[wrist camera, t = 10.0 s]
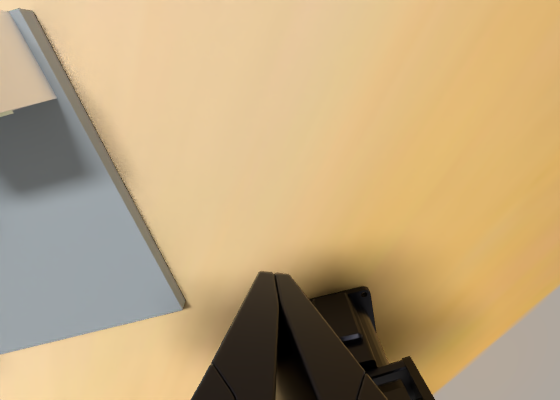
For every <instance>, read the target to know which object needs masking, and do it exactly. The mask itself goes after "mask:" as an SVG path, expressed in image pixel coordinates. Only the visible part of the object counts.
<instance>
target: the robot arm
mask: <svg viewBox="0 0 560 400" xmlns="http://www.w3.org/2000/svg"><path fill="white" fill-rule="evenodd" d="M364 292H365V293H364ZM362 293H363V294H362ZM191 400H435V399H434V397H433V395H432V394H431V392H430V390H429V388H428V387H427V385H426V383H425V382H424V380H423V378H422V376H421V375H420V373H419V371H418V369H417V368H416V366H415V364H414V362H413V361H412V359H411V357H410V356H408V357H405V358H402V360H400V361H397V362H394V363H391V364H389V362H388V360H387V358H386V355H385V353H384V351H383V348H382V346H381V344H380V341H379V339H378V337H377V334H376V328H375V321H374V314H373V308H372V301H371V294H370V291H369V289H368V288H367V287H359V288H355V289H350V290H346V291H342V292H338V293H334V294H330V295H325V296H321V297H317V298H313V299H308V298H307V296H306V295H305V294H304V293H303V291H302V290H301V289H300V288H299V286H298V285H297V284H296V282H295V281H294V280H293V279H292V277H291V276H290V275H289V274H283V273H275V274H273V273H272V272H264V271H260V272H259V273H258V275H257V277H256V278H255V280H254V282H253V284H252V286H251V288H250V290H249V292H248V294H247V296H246V297H245V299H244V301H243V303H242V305H241V307H240V309H239V311H238V313H237V315H236V317H235V318H234V320H233V322H232V324H231V326H230V328H229V330H228V332H227V334H226V336H225V338H224V339H223V341H222V343H221V345H220V347H219V349H218V351H217V353H216V355H215V357H214V359H213V360H212V362H211V365H210V366H209V368H208V370H207V371H206V373H205V375H204V377H203V379H202V381H201V383H200V384H199V386H198V388H197V390H196V391H195V393H194V395H193V397H192V398H191Z"/></svg>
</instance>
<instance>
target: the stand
mask: <svg viewBox="0 0 560 400" xmlns="http://www.w3.org/2000/svg"><path fill="white" fill-rule="evenodd" d="M184 304H185V299H184V297H183V295H182V293H181V291H180V289H179V287H178V285H177V283H176V282H175V280H174V278H173V276H172V274H171V272H170V270H169V268H168V266H167V265H166V263H165V261H164V259H163V257H162V255H161V253H160V251H159V249H158V248H157V246H156V244H155V242H154V240H153V238H152V236H151V234H150V232H149V230H148V229H147V227H146V225H145V223H144V221H143V219H142V217H141V215H140V213H139V212H138V210H137V208H136V206H135V204H134V202H133V200H132V198H131V196H130V194H129V193H128V191H127V189H126V187H125V185H124V183H123V181H122V179H121V177H120V176H119V174H118V172H117V170H116V168H115V166H114V164H113V162H112V160H111V158H110V157H109V155H108V153H107V151H106V149H105V147H104V145H103V143H102V141H101V140H100V138H99V136H98V134H97V132H96V130H95V128H94V126H93V124H92V123H91V121H90V119H89V117H88V115H87V113H86V111H85V109H84V107H83V105H82V104H81V102H80V100H79V98H78V96H77V94H76V92H75V90H74V88H73V87H72V85H71V83H70V81H69V79H68V77H67V75H66V73H65V71H64V69H63V68H62V66H61V64H60V62H59V60H58V58H57V56H56V54H55V52H54V51H53V49H52V47H51V45H50V43H49V41H48V39H47V37H46V35H45V33H44V32H43V30H42V28H41V26H40V24H39V22H38V20H37V18H36V16H35V15H34V13H33V11H31V10H25V9H19V8H18V9H15V10H11V11H3V10H0V354H4V353H8V352H12V351H16V350H20V349H25V348H29V347H33V346H37V345H41V344H45V343H49V342H53V341H58V340H62V339H66V338H70V337H74V336H78V335H82V334H86V333H90V332H95V331H99V330H103V329H107V328H111V327H115V326H119V325H123V324H128V323H132V322H136V321H140V320H144V319H148V318H152V317H156V316H160V315H165V314H169V313H173V312H177V311H181V310H183V307H184Z"/></svg>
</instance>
